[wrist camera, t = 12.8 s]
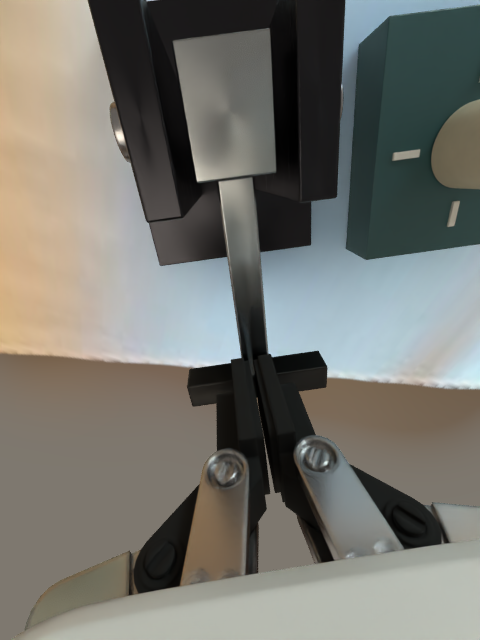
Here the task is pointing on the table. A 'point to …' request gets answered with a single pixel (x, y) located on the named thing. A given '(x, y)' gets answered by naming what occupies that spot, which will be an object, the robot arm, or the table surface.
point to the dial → (459, 149)
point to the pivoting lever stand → (170, 128)
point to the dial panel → (411, 134)
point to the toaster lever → (237, 185)
